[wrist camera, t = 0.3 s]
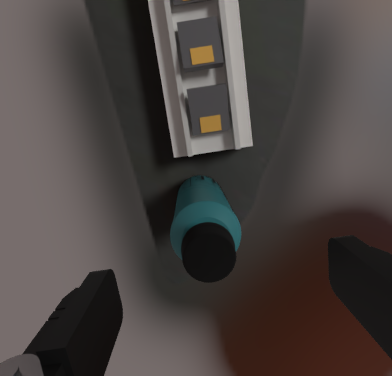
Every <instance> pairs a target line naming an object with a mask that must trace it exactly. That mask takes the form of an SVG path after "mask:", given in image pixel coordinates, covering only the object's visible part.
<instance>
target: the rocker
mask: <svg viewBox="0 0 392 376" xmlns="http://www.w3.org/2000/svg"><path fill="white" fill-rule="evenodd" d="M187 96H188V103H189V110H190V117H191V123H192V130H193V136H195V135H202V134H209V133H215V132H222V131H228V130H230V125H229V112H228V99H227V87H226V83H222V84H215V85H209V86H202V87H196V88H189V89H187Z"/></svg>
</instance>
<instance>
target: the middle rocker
mask: <svg viewBox="0 0 392 376" xmlns="http://www.w3.org/2000/svg"><path fill="white" fill-rule="evenodd" d="M177 29H178V36H179V42H180V49H181V56H182V62H183V69H184V73H187V72H193V71H200V70H206V69H212V68H219V67H223V64H224V61H223V54H222V48H221V42H220V35H219V29H218V23H217V16H214V17H208V18H201V19H195V20H188V21H182V22H177Z"/></svg>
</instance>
